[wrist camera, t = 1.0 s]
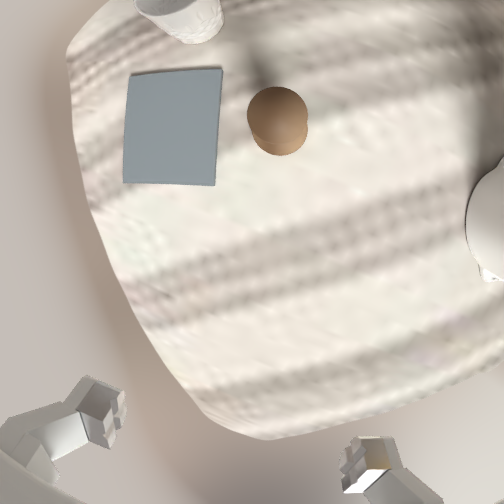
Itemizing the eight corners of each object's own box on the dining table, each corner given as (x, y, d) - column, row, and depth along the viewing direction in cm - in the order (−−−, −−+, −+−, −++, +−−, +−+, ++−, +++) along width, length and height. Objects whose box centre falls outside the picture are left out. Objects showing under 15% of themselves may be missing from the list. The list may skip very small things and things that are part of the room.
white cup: (242, 14, 26) (227, -27, 17) (200, 58, 29) (171, 28, 19) (195, -8, 25) (169, -47, 16) (156, 34, 28) (119, 4, 18)
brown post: (308, 107, 30) (320, 81, 18) (304, 158, 31) (315, 158, 20) (255, 102, 30) (239, 75, 19) (251, 153, 32) (233, 151, 21)
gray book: (223, 70, 29) (221, 69, 28) (215, 185, 34) (213, 186, 33) (132, 77, 30) (129, 76, 29) (125, 182, 34) (122, 183, 34)
